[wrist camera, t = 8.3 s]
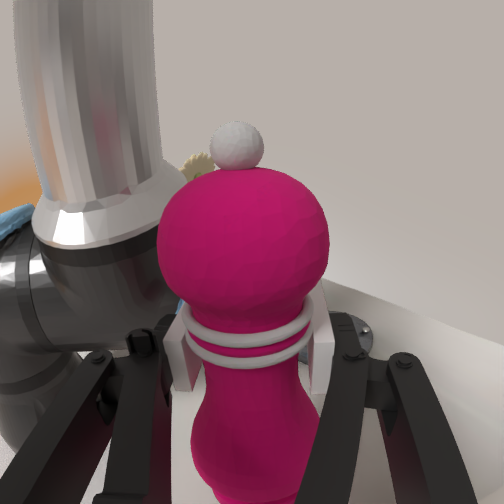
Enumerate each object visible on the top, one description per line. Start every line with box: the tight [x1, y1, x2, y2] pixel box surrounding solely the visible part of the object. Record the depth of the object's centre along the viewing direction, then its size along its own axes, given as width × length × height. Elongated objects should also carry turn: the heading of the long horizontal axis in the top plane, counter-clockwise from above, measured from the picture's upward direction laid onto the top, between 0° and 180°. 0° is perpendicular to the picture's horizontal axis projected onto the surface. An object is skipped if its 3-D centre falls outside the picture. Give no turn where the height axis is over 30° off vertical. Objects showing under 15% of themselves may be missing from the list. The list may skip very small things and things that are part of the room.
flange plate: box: [298, 311, 373, 365], centre depth 42 cm, size 12×12×2 cm
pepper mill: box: [157, 121, 330, 504], centre depth 13 cm, size 7×7×20 cm
